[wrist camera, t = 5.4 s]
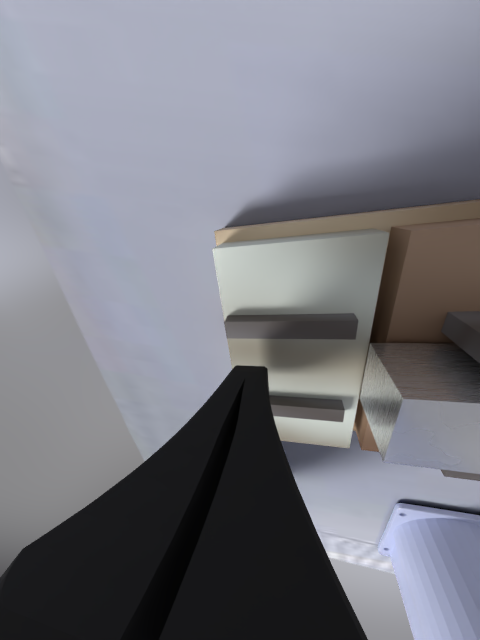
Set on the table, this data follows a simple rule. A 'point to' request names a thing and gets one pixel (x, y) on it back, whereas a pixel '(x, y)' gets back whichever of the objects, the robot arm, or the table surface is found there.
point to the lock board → (346, 305)
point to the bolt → (424, 405)
